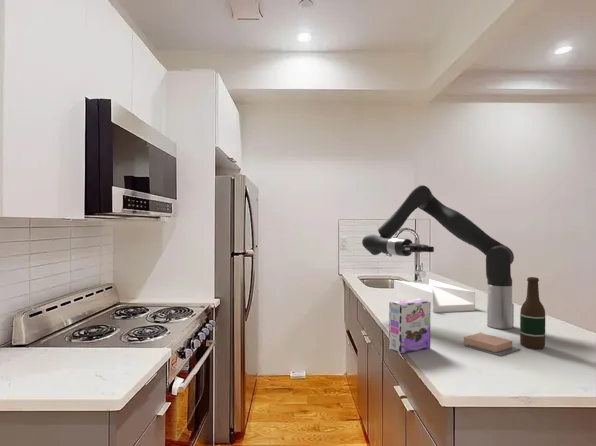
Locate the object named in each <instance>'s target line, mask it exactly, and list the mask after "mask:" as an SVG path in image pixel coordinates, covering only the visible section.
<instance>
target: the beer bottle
mask: <svg viewBox="0 0 596 446" xmlns="http://www.w3.org/2000/svg"><path fill="white" fill-rule="evenodd" d="M526 281H527V288H526V297H525V298H526V299H525V301H524V302H523V303H522V305H521V307H520V315H519V316H520V317H519V318H520V319H519V321H520V322H519V331H520V332H519V336H520V337H519V342H520V346H521V345H522V347H523V346H524V347H523V348H525V347H526V349H530V348H531V350H543V349H544V348H545V346H546V309H545V307H544V305H543V304H542V302H541V300H540V291H539V290H540V289H539V282H540V279H539V278H538V277H534V276H533V277H531V276H529V277H527V279H526Z"/></svg>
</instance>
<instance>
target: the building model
mask: <svg viewBox="0 0 596 446" xmlns="http://www.w3.org/2000/svg"><path fill="white" fill-rule="evenodd" d="M393 296H394V297H396V298H399V299H401V300H402V301H404V300H413V299H422V300H427V301H430V313H448V312H449V313H451V312H470V311H471V312H472V311H476V292H475V291H473V290H470V289H466V288H463V287H459V286H455V285H452V284H448V283H444V282H441V281H437V280H434V279H430V278H429V279H428V284H424V283H417V282H411V281H403V280H399V279H398V280H397V279H393Z"/></svg>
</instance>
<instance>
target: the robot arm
mask: <svg viewBox="0 0 596 446" xmlns="http://www.w3.org/2000/svg"><path fill="white" fill-rule="evenodd" d="M417 209H420V210H421V211H423V212H424V213H426V214H428V215H429V216H431V218H434V219H435V221H436V222H438V223H439V224H440V225H441V227H444V229H445V230H447V231H448V232H449V233H451V234H452V235H453V236H455V237H456V238H458V239H459V240H461V241H462V242H464V243H465V244H467V245H470V246H471V247H474V248H476V249H477V250H479V251H480V252H481V253H482V254H484V256H486V257H485V276H486V280H487V296H486V297H487V304H486V305H487V307H486V310H487V311H486V314H487V315H486V320H487V321H486V324H487V326H488V327H490V328H493V329H500V330H510V329H512V328H514V327H515V324H514V321H515V319H514V317H515V316H514V315H515V314H514V313H515V312H514V310H515V304H514V303H513V278H512V275H511V274H512V273H511V272H512V271H511V265H512V264H513V262H514V260H515V255H514V252H513V250H512V249H511V248H509V247H508V246H507V245H504V243H501V242H500V241H498V240H496V239H495V238H493V237H492V236H490V235H488V234H487V233H486V232H485V231H484V230H483V229H481V228H480V227H479V226H478V225H477V224H475V223H474V222H473V221H472V220H470V219H469V218H468V217H466V216H465V215H464V214H462V213H461V212H459V211H457V210H456V209H453V208H450V207H448V206H446V205H445V204H444V203H442V202H441V201H440V200H438V199H437V198H436V197H435V196H434V194H433V193H432V190H431V189H430V188H429V186H427V185H424V184H423V185H417V186H415V187H414V188H413V189H412V190H411V191H410V193H409V194H408V196H407V197H406V198H405V200H404V201H403V202H402V203H401V204H400V206H399V207H398V208H397V209H396V211H395V212H394V213H393V214H392V215H391V216H390V217H388V219H386V221H385V222H384V223H382V224H381V226H380V227H379V228H378V230H377V231H378V234H379V235H380V236H379V235H377V234H367V235H365V236H364V237H363V239H362V240H361V244H362V247H364V248H365V250H367V251H368V252H369V253H370V254H371V255H372V256H377V255H380V254H381V253H382V254H385V255H386V254H387V255H393V256H401V257H409V256H411V255H412V254H415V253H416V254H418V253H434V251H435V247H434V246H430V245H427V244H423V243H422V244H421V243H415V242H414V243H413V241H412V240H411V239H409V238H400V237H399V238H398V237H395V238H392V237H394V236H395V235H396V233H397V232H399V231H400V229H401V228H402V227H403V225H404V224H405V223H406V221H407V220H408V218H409V217H410V216H411V214H412V213H413V212H415V210H417Z"/></svg>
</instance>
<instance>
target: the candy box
mask: <svg viewBox="0 0 596 446" xmlns="http://www.w3.org/2000/svg"><path fill="white" fill-rule="evenodd" d="M388 312H389V313H388V316H389V317H388V319H389V320H388V322H389V325H388V327H389V328H388V349H389V350H391V351H393V352H395V353H397V354H399V355H401V354H406V353H411V352H417V351H422V350H427V349H431V311H430V301H427V300H422V299H413V300H397V301H396V300H395V301H389V311H388Z"/></svg>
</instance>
